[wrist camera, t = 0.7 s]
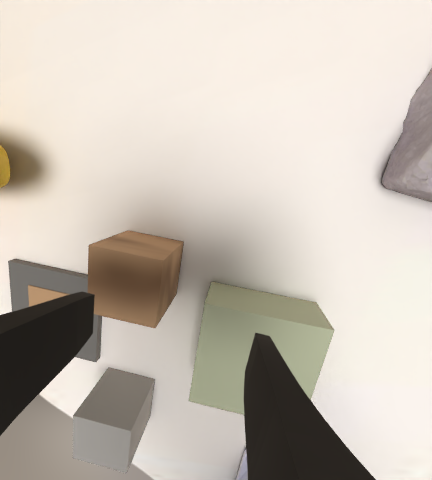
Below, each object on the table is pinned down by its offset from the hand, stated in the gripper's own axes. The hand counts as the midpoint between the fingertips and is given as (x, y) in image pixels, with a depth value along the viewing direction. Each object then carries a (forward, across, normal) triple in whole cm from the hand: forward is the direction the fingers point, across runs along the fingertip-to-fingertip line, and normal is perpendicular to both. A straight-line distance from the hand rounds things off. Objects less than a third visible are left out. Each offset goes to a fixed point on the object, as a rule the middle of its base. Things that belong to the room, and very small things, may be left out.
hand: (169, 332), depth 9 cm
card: (+9, +14, +8) cm, 18 cm away
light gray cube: (+10, +6, +16) cm, 20 cm away
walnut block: (+10, +5, +1) cm, 11 cm away
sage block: (+10, -5, +6) cm, 13 cm away
